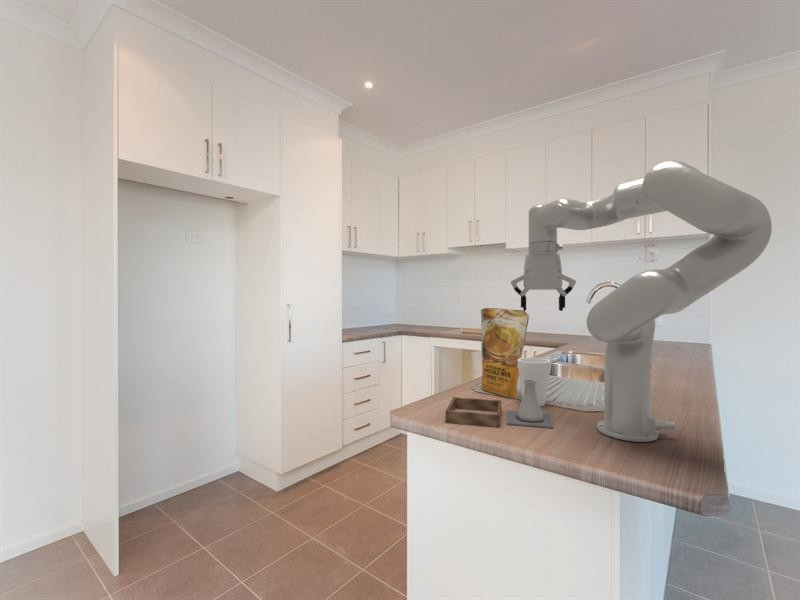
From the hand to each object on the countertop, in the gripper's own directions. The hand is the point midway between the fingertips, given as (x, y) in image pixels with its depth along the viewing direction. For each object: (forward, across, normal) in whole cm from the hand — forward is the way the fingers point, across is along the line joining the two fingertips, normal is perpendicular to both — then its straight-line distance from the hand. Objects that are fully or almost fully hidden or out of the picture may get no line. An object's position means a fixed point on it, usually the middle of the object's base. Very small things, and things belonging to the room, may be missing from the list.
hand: (542, 310), depth 111 cm
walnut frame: (+28, +18, +11) cm, 35 cm away
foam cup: (+28, +2, -6) cm, 29 cm away
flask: (+28, +4, +10) cm, 30 cm away
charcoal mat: (+28, +4, +10) cm, 30 cm away
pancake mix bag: (+28, +12, -16) cm, 35 cm away
